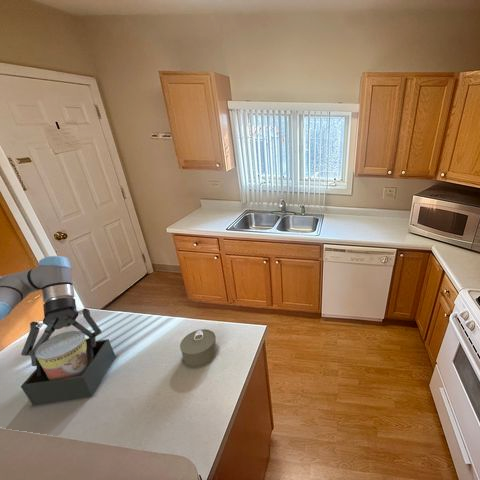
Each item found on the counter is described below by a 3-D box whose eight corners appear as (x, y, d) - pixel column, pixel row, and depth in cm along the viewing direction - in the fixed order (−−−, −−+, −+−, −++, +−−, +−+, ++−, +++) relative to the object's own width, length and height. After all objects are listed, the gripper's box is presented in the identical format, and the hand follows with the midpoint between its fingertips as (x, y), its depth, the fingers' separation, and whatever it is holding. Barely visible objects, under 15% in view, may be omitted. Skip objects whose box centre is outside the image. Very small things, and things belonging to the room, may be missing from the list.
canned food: (63, 391, 77) (48, 363, 73) (41, 379, 81) (25, 351, 76) (103, 362, 87) (92, 336, 82) (82, 352, 91) (70, 326, 86)
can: (181, 371, 90) (177, 357, 87) (185, 346, 100) (182, 332, 97) (217, 363, 94) (214, 349, 91) (218, 339, 104) (215, 326, 101)
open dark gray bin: (33, 405, 77) (20, 386, 74) (66, 363, 91) (57, 345, 87) (92, 396, 81) (82, 377, 77) (115, 356, 94) (108, 339, 91)
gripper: (106, 292, 95) (116, 351, 89) (14, 314, 82) (19, 384, 77) (100, 287, 88) (111, 350, 83) (0, 310, 76) (5, 386, 71)
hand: (67, 366), depth 80 cm, fingers closed on canned food, 11 cm apart
